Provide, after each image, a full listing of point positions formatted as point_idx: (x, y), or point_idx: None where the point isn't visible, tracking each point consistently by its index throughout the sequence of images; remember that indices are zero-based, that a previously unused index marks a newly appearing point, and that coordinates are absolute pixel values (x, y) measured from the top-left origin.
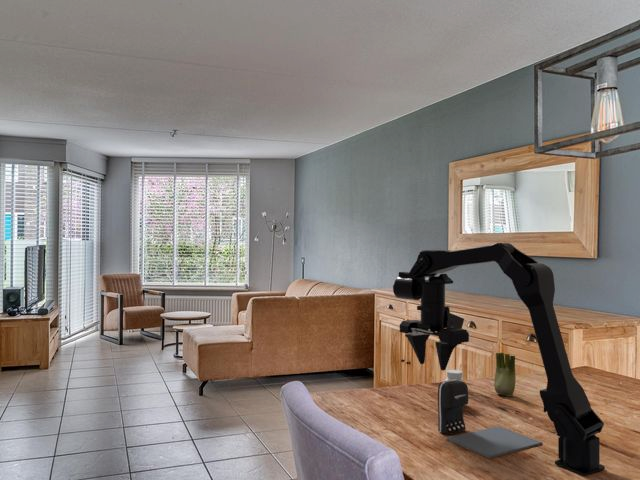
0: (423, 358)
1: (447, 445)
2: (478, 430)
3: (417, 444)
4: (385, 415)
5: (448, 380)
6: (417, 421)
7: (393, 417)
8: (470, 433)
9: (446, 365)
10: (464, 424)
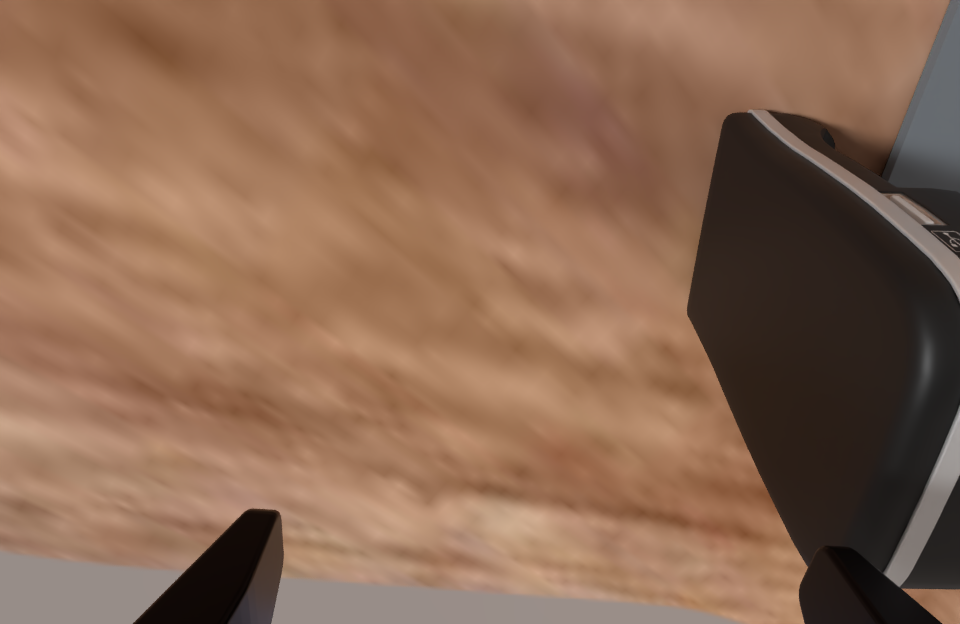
0: (254, 609)
1: None
2: (930, 72)
3: (720, 517)
4: (199, 351)
5: (895, 496)
6: (430, 264)
7: (265, 337)
8: (906, 184)
9: (916, 617)
10: (823, 135)
